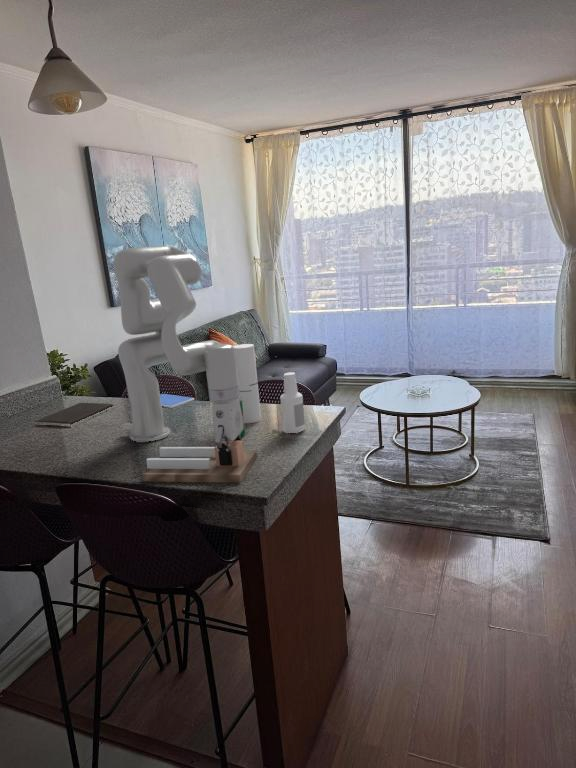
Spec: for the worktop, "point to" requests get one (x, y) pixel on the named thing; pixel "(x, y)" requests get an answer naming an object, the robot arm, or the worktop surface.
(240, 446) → the block
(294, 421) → the white bottle
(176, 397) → the tablet computer
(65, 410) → the hardcover book
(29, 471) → the worktop surface
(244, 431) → the soda can
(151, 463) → the channel
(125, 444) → the worktop surface
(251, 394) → the cylindrical container
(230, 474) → the board
